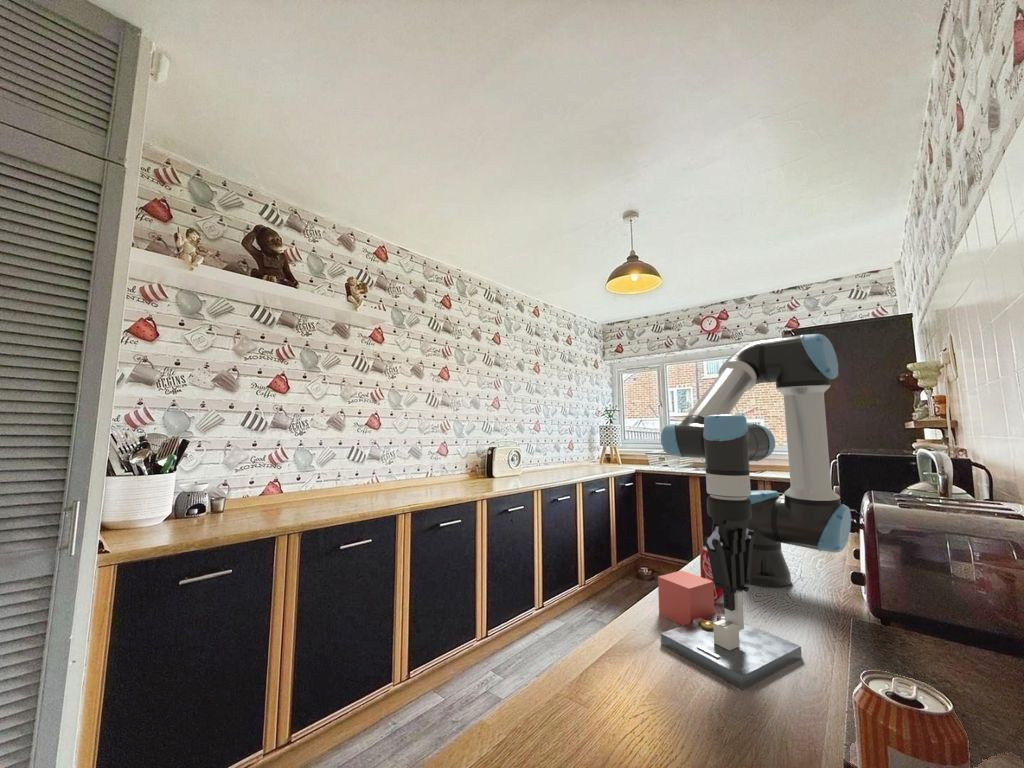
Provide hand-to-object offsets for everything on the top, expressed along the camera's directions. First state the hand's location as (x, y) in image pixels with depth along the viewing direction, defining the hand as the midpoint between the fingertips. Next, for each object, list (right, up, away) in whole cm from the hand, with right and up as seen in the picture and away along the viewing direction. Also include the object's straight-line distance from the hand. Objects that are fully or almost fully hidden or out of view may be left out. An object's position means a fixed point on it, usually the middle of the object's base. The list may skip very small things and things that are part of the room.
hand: (734, 626), depth 78 cm
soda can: (+8, -7, +23) cm, 25 cm away
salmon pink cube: (-3, -6, +14) cm, 15 cm away
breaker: (-2, -2, -2) cm, 4 cm away
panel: (-1, -5, 0) cm, 5 cm away
